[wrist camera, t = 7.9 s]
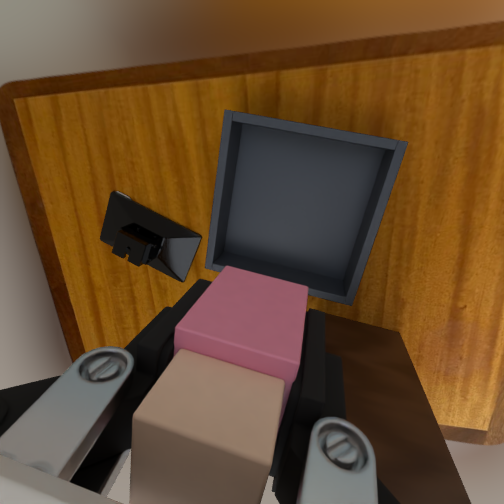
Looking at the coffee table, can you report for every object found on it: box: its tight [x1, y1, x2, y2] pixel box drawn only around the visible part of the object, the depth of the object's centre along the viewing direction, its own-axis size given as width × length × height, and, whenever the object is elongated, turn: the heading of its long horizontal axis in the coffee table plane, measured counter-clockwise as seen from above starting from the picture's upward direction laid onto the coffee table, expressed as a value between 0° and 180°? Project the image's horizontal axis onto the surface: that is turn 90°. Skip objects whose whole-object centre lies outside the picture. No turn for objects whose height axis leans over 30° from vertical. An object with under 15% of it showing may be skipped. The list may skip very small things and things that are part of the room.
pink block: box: [129, 266, 308, 504], centre depth 8 cm, size 3×4×6 cm
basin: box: [205, 110, 408, 306], centre depth 30 cm, size 16×16×5 cm
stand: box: [325, 313, 471, 504], centre depth 22 cm, size 10×10×34 cm
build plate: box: [100, 191, 202, 282], centre depth 36 cm, size 12×7×5 cm, turn 66°
